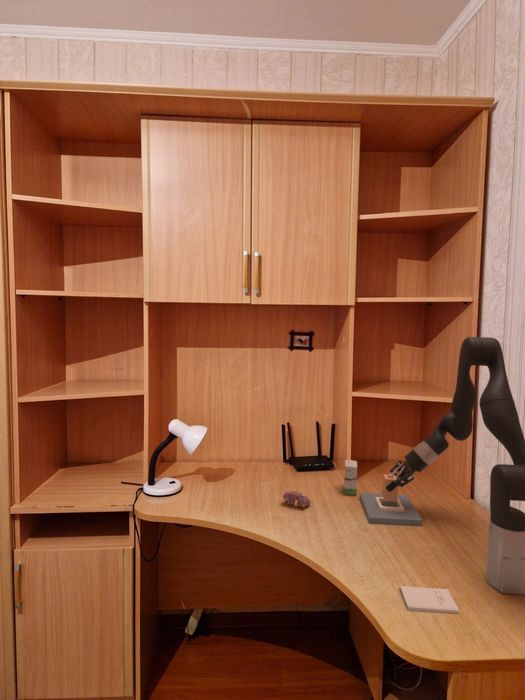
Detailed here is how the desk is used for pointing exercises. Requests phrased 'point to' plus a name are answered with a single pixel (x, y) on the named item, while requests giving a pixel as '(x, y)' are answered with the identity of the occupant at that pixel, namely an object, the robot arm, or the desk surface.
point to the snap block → (385, 493)
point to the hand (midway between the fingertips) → (386, 486)
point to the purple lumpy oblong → (296, 498)
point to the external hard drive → (428, 599)
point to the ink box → (350, 477)
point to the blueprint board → (390, 510)
